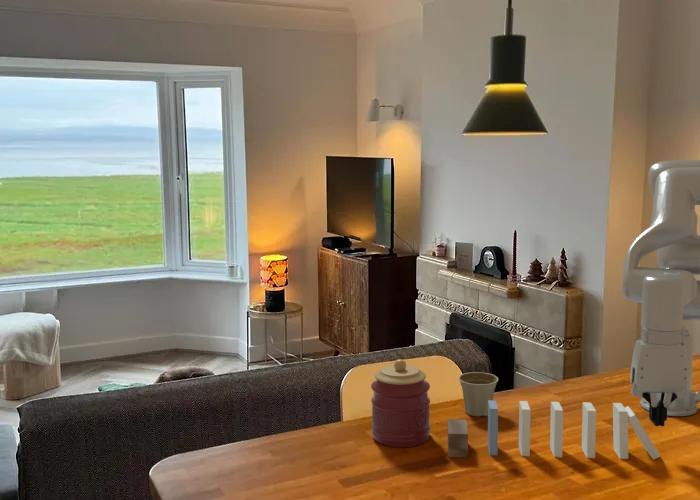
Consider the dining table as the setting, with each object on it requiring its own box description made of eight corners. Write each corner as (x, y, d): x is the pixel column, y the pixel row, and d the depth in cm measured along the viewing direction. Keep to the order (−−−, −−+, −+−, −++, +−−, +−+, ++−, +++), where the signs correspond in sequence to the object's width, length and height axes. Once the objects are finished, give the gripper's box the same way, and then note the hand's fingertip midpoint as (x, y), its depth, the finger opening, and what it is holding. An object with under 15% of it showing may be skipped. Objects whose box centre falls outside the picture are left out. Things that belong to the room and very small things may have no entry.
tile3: (589, 448, 145) (590, 402, 144) (595, 458, 141) (596, 410, 139) (581, 447, 146) (582, 402, 144) (586, 458, 141) (588, 410, 139)
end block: (466, 441, 150) (466, 419, 149) (468, 457, 142) (468, 434, 141) (447, 441, 150) (447, 419, 150) (448, 456, 142) (448, 433, 142)
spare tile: (489, 455, 143) (490, 408, 142) (487, 445, 148) (488, 400, 147) (497, 455, 143) (497, 408, 142) (495, 445, 148) (495, 400, 146)
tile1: (652, 445, 144) (628, 406, 143) (660, 456, 139) (635, 414, 138) (645, 449, 144) (621, 409, 144) (653, 459, 139) (627, 418, 139)
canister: (437, 430, 157) (437, 354, 154) (419, 452, 145) (418, 371, 143) (384, 422, 162) (383, 349, 160) (362, 443, 150) (361, 364, 148)
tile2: (621, 448, 145) (620, 402, 143) (628, 458, 140) (627, 411, 139) (613, 448, 145) (612, 402, 144) (620, 459, 140) (619, 411, 139)
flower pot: (498, 420, 162) (498, 385, 161) (457, 418, 164) (457, 383, 162) (497, 406, 171) (498, 372, 170) (459, 404, 173) (459, 371, 172)
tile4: (557, 447, 146) (558, 401, 145) (562, 457, 141) (563, 410, 140) (550, 447, 146) (550, 401, 145) (554, 457, 141) (555, 410, 140)
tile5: (526, 446, 147) (527, 401, 146) (529, 456, 142) (530, 409, 141) (518, 446, 147) (519, 401, 146) (521, 456, 142) (522, 409, 141)
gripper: (692, 331, 141) (689, 418, 143) (617, 331, 143) (614, 416, 145) (707, 341, 134) (703, 432, 136) (627, 340, 135) (624, 430, 138)
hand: (657, 423), depth 141 cm, fingers closed
